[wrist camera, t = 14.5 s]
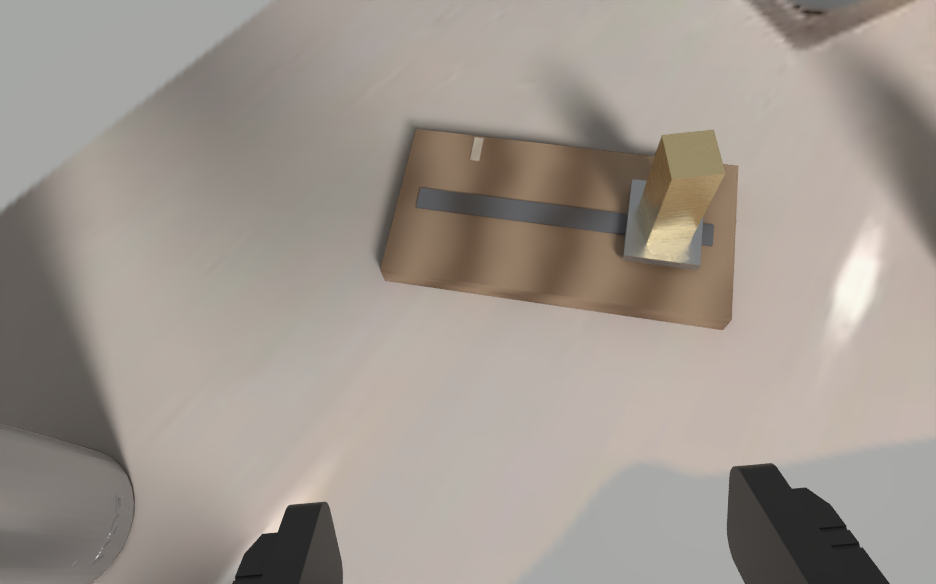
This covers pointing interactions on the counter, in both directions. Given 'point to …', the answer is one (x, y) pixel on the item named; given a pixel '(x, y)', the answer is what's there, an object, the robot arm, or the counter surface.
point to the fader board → (548, 230)
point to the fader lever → (673, 201)
